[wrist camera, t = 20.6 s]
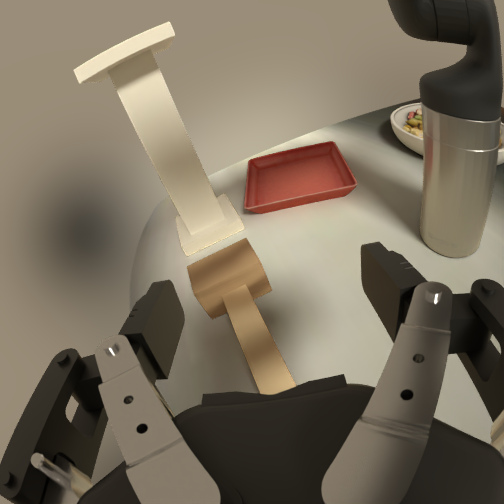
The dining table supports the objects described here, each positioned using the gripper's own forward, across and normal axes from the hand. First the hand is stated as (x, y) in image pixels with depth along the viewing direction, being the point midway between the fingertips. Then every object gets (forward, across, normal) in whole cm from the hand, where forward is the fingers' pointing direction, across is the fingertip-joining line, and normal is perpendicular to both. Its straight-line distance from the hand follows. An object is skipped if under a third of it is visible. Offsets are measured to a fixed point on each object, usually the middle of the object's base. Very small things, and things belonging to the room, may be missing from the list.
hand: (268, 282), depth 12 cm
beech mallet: (+12, +3, +15) cm, 19 cm away
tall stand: (+35, +10, +8) cm, 38 cm away
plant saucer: (+41, -7, +5) cm, 42 cm away
